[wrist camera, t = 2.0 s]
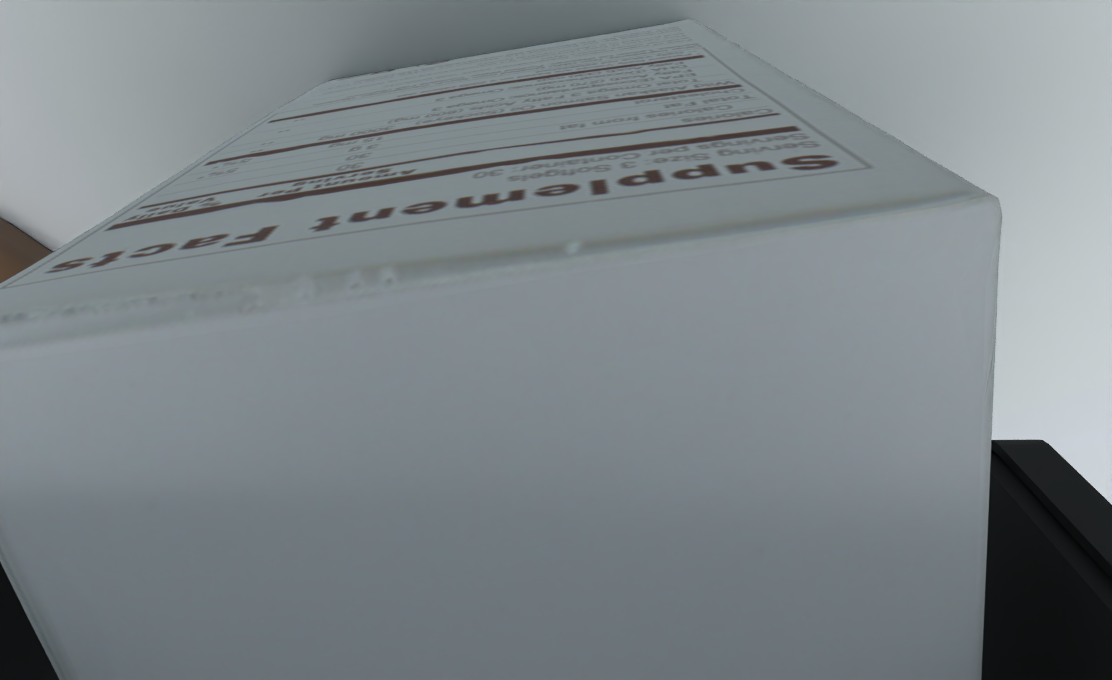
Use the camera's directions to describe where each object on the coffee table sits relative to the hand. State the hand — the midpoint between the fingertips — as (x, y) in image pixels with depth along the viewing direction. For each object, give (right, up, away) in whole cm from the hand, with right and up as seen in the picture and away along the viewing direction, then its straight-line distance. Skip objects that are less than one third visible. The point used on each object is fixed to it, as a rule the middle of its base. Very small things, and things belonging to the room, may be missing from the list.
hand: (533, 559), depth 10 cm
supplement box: (0, +5, +9) cm, 10 cm away
